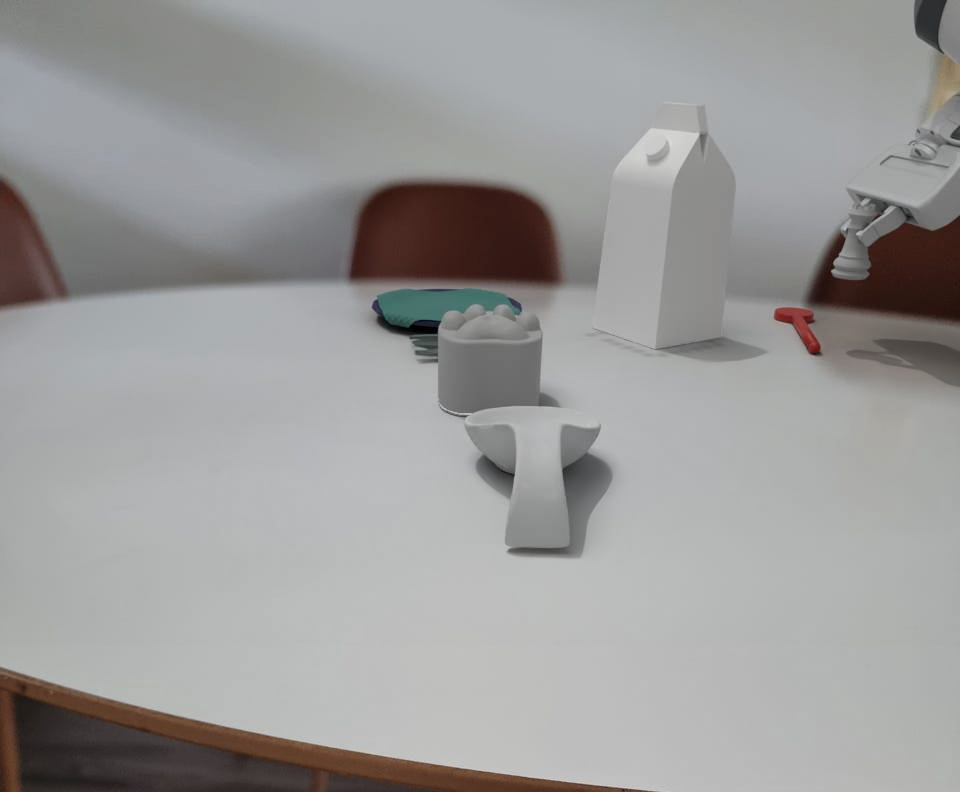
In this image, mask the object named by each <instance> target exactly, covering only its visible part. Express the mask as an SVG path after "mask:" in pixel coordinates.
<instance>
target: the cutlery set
mask: <svg viewBox="0 0 960 792" xmlns="http://www.w3.org/2000/svg"><path fill="white" fill-rule="evenodd" d="M475 304H478V305H481V306H482V307H483V308H484V309H485V311H494V309H495V308H496V307H497V306H499V305H508V306H509V307H510V308H511V309H512V311H513V313H514V315H517V316H519V315H520V314H521V313H522V311H523V307H522V303H520V302H518V301H517V300H515V299H514V298H513V297H509V296H508V295H507V294H506V293H501V292H498V291H493V290H488V289H481V288H471V287H466V288H424V289H423V288H421V289H414V288H400V289H395V290H390V291H386V292H383V293H380V294H377V295H376V299H374V300H373V301H372V304H371V309H372V310H373V311H374V312H375V313H376V314H377V315H379V316H381V317H383V318H385V320H386V321H387V323H389V324H390V325H394V326H399V327H403V328H407V329H409V328H410V326H411V325H413V326H419V327H428V328H429V327H431V328H439V325H440V323H441V321H442V318H443V316H444V314H445V313H446V312H448V311H458V312H460V313H461V314H464V313H465V311H466V310H467V309H468V308H469V307H470V306H472V305H475ZM408 338H409V340H411V341H410V342H411V344H412V345H414V346H416V347H419V348H422V349H414V353H415V354H416V355H417V356H423V357H425V356H438V333H433V334H432V333H431V334H429V333H428V334H427V333H426V334H424V333H423V334H413V335H409V337H408Z"/></svg>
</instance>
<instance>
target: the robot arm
mask: <svg viewBox="0 0 960 792" xmlns="http://www.w3.org/2000/svg"><path fill="white" fill-rule="evenodd" d="M913 4H914V5H913V24H914V30H915V31H914V32H915V35H916V36H917V38H918V39H920V40H921V41H923V42H924V43H926V44H927V45H928V46H930V47H932V48H933V49H934V50H936V51H938V52H939V53H941V54H943V55H945V56H947V57H948V58H949V59H951V60H952V62H954V63H955V64H956V65H958V67H960V0H914V3H913ZM914 135H915V136H914V137H915V139H914V140H911V141H909V142H908V144H906V143H897V144H894V145H892V146H890V147H888V148H887V149H885V150H884V151H883V152H882V153H880V154H879V155H878V156H876V157H875V158H874V159H873V160H871V161H870V162H869V163H868V164H867V165H865V166H864V167H863V168H862V169H861V170H859V171H858V172H857V173H856V174H855V175H854V176H853V177H851V179H850V180H849V181H848V183H847V185H846V188H845V190H846V192H847V193H848V195H849V197H850V198H851V200H852V201H853V204H856V203H861V205H863V206H864V203H865V204H869V205H868V206H870V205H871V204H873V205H876V208H875V211H876V213H877V216H878V215H880V216H879V217H877V218H876V219H874V220H872V223H870V224H868V223H866V224H865V225H864V226H863V227H862V228H861V229H860V230H859V231H857V233H856V238H857V239H858V240H859V242H860V244H862V245H865V246H868V247H870V246H871V245H872V244H874V243H875V242H876V241H877V240H878V239H880V238H881V237H883V236H885V235H887V234H889V233H891V232H893V231H895V230H897V229H898V228H899V227H901V226H902V225H903V224H904V223H905V224H910V225H913V226H916V227H919V228H922V229H925V230H929V231H932V232H934V231H936V230H939V229H941V228H944V227H946V226H948V225H949V224H950V223H952V222H954V221H955V219H957V218H958V217H960V90H959V91H958V92H956V93H955V94H953V95H952V96H950V97H949V99H948V100H946V102H944V103H943V104H942V105H941V106H940V107H939V108H938V109H937V110H935V111H934V113H933V114H931V115H930V116H929V117H928V118H927V119H926V120H925V121H924V122H923V123H922V124H920V125H919V127H917V129H916V130H915V134H914ZM850 222H851V218H850V217H849V219H848V220H847V221H845V223H844V224H843V225H841V227H840V229H839V231H840V233H841V234H842V236H843V237H844V239H846V238H847V234H848V227H847V226H848V225H849V224H850Z"/></svg>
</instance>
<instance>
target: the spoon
mask: <svg viewBox="0 0 960 792" xmlns="http://www.w3.org/2000/svg"><path fill="white" fill-rule="evenodd" d="M814 316H815V313H814V312H813V311H812V310H809V309H806V308H802V307H801V308H800V307H789V306H785V307H777V308H776V309H774V313H773V318H774V319H775V320H777V321H779V322H783V323H788V324H793V326H794V327H795V329H796V331H797V333H798V334H799V336H800V337H801V339H802V341H803V343H804V344H805V346H806V348H807V349H808V351H809V352H810V354H813V355H816V354H818V353H819V352H820V351H821V349H822V345H821V343H820V342H819V341H818V339H817V337H816V335H815V334H814V333H813V331H812V329H811V328H810V326H809V325H808V323H812V322H813V320H814Z"/></svg>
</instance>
